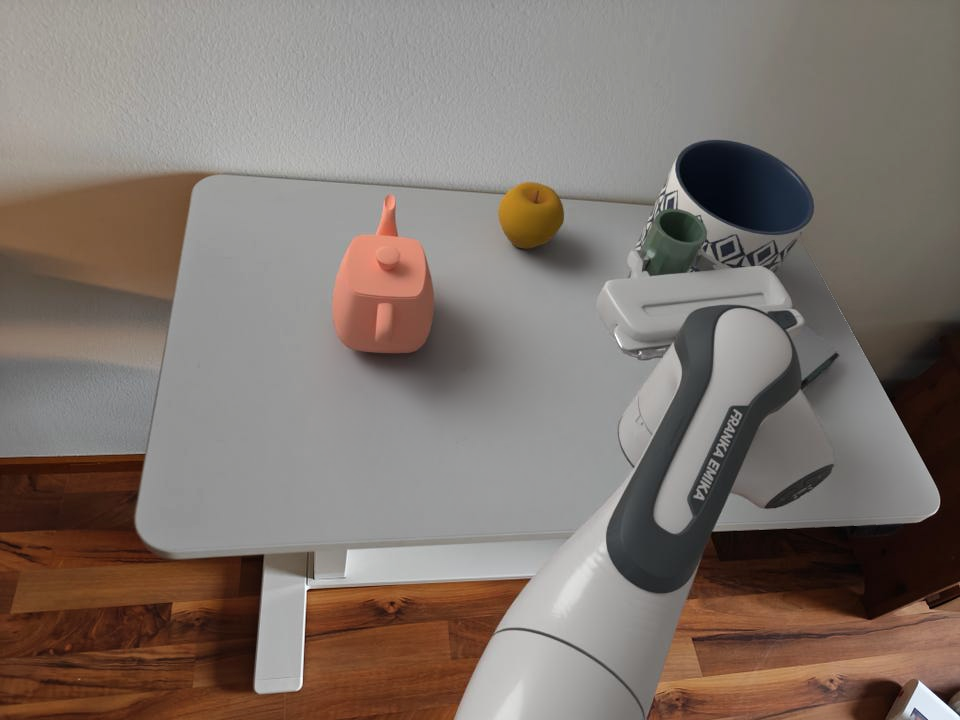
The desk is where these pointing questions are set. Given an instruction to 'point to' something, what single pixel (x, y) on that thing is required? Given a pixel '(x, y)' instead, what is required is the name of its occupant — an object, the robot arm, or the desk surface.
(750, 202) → the planter
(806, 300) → the desk surface
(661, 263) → the cup
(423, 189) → the desk surface
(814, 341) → the scale
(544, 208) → the apple
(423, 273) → the teapot
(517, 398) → the desk surface
